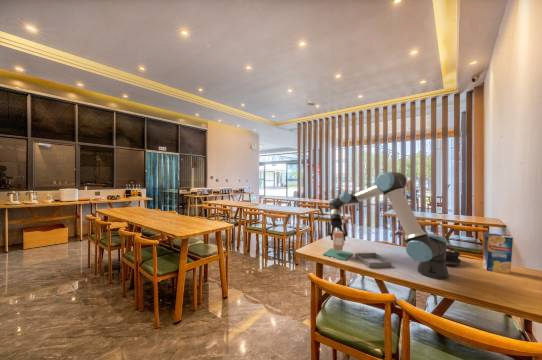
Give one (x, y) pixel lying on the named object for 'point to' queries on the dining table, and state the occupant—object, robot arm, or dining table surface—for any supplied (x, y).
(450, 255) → the casserole
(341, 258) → the mat
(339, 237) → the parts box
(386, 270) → the dining table surface
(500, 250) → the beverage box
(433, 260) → the robot arm
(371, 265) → the bin
